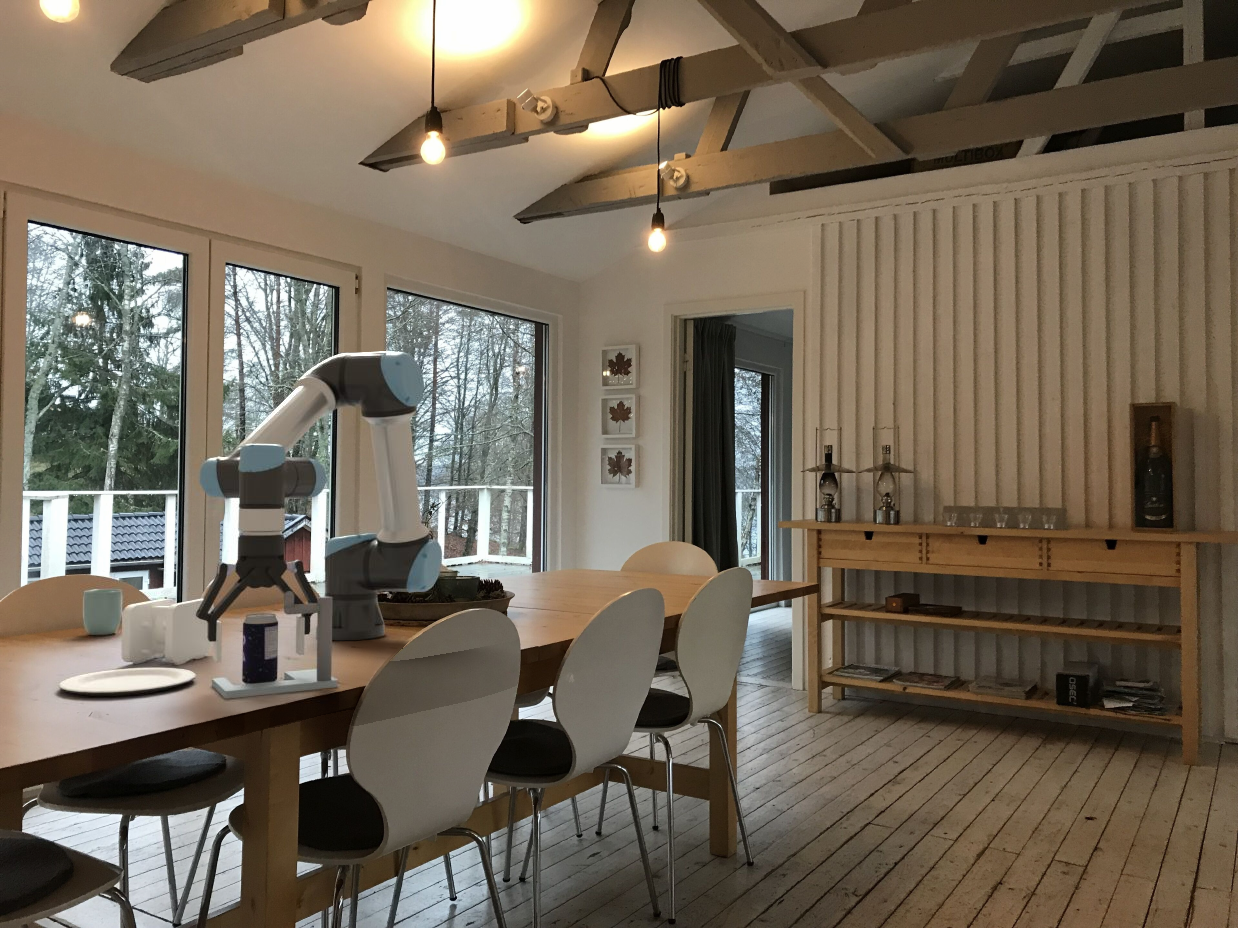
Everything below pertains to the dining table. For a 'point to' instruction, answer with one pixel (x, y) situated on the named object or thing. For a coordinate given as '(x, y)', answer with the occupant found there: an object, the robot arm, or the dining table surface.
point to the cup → (102, 611)
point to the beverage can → (260, 648)
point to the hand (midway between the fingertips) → (259, 657)
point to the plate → (127, 681)
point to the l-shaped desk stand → (300, 678)
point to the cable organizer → (164, 631)
